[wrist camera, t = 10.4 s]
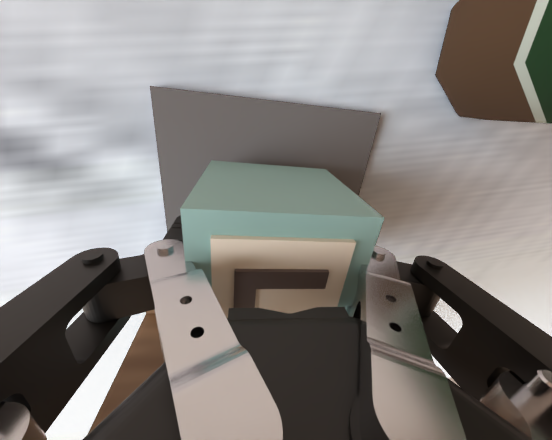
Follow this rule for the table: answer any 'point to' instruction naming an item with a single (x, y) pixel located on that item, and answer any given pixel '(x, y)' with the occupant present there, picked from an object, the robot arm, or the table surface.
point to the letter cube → (277, 236)
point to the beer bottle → (499, 60)
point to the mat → (253, 138)
